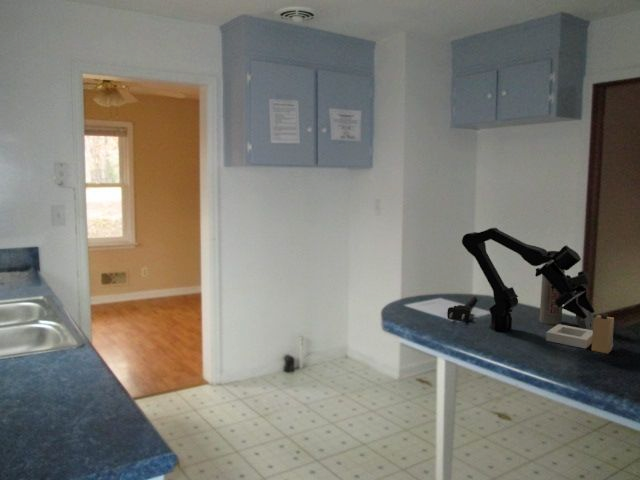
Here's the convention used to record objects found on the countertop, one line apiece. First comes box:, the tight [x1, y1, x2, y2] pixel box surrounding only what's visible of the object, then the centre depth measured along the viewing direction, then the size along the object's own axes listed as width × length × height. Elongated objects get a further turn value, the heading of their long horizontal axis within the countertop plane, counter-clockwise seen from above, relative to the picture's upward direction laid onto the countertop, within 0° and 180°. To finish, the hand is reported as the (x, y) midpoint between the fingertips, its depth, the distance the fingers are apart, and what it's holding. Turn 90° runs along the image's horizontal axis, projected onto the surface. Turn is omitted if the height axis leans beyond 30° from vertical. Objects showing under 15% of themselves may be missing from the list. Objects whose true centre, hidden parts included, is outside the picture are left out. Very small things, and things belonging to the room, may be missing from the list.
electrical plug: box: [446, 296, 478, 322], centre depth 230 cm, size 9×42×5 cm, turn 154°
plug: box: [590, 313, 615, 355], centre depth 179 cm, size 6×5×12 cm
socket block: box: [545, 324, 593, 350], centre depth 191 cm, size 13×13×3 cm
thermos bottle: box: [539, 250, 566, 326], centre depth 211 cm, size 8×8×28 cm
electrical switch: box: [574, 306, 595, 330], centre depth 204 cm, size 9×5×9 cm, turn 141°
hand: (589, 315), depth 182 cm, fingers open, 9 cm apart
